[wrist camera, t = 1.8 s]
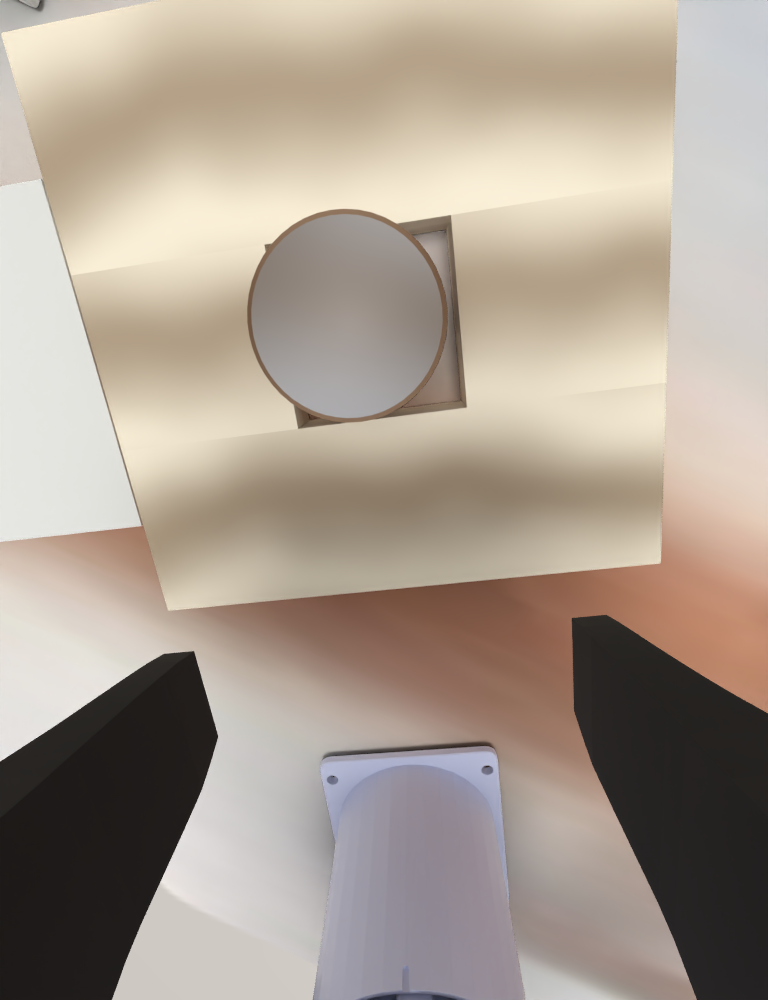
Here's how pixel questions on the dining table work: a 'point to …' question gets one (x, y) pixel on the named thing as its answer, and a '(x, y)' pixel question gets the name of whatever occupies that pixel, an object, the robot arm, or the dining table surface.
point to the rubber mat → (51, 389)
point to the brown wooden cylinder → (347, 315)
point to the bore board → (416, 208)
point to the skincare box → (31, 2)
